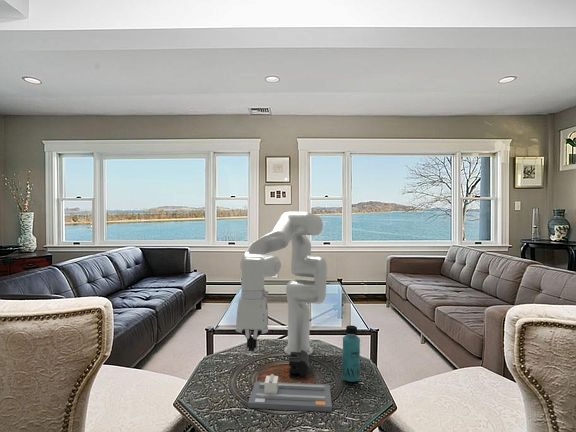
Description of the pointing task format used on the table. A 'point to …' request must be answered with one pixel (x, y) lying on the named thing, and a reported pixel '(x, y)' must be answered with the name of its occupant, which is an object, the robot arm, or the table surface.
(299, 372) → the end cap
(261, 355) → the table surface
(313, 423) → the table surface
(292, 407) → the breaker panel
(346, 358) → the beverage bottle
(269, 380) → the knob
